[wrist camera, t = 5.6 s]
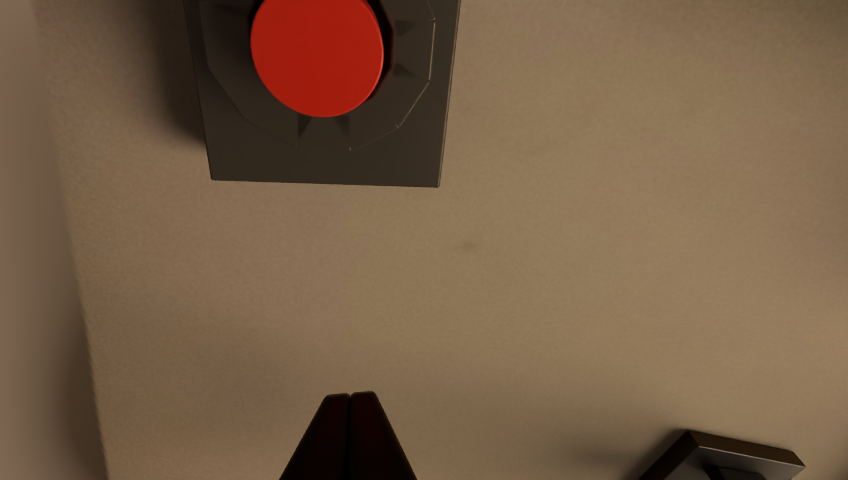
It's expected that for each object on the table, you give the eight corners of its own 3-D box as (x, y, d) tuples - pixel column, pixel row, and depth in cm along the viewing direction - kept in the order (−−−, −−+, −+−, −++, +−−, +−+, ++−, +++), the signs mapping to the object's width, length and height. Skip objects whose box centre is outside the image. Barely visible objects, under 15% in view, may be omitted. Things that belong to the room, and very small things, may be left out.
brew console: (432, 165, 19) (447, 211, 16) (226, 157, 18) (194, 205, 15) (464, -149, 14) (497, -179, 11) (179, -187, 13) (114, -235, 10)
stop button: (379, 102, 14) (380, 120, 13) (267, 96, 14) (256, 114, 12) (383, -20, 12) (386, -15, 11) (257, -31, 12) (242, -29, 11)
